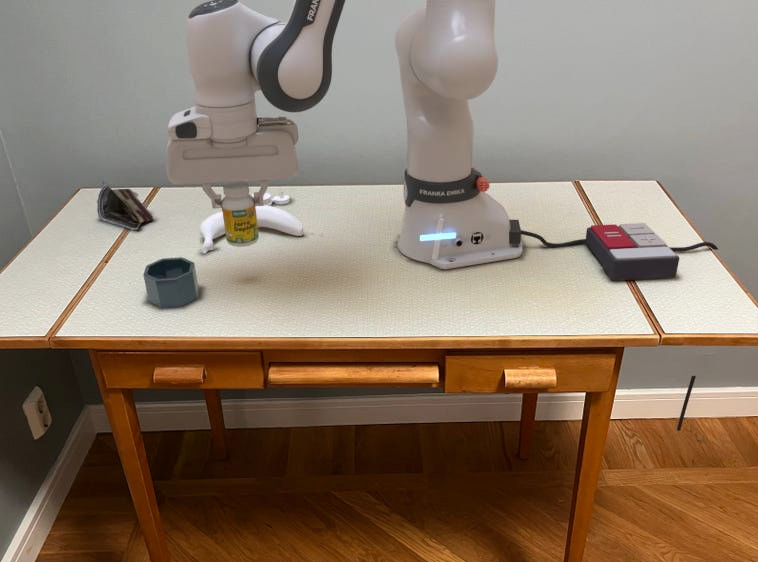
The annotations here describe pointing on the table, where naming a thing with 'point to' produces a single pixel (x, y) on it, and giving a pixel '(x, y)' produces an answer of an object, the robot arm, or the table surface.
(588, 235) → the control box
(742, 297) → the table surface
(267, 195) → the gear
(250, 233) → the supplement bottle
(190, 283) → the holder
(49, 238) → the table surface
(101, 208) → the chocolate cake
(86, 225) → the table surface
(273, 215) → the banana
